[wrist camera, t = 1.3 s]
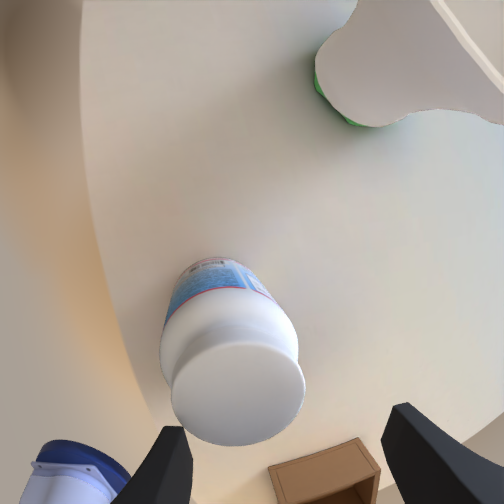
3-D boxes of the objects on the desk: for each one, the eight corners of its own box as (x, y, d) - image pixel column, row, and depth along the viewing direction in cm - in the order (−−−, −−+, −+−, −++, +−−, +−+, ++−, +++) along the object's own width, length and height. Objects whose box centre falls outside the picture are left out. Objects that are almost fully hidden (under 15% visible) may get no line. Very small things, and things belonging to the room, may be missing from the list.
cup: (343, 4, 18) (439, -95, 4) (433, 99, 21) (564, 60, 7) (251, 73, 18) (329, -80, 5) (364, 185, 21) (540, 180, 7)
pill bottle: (165, 333, 20) (142, 449, 9) (181, 247, 20) (159, 301, 9) (251, 349, 21) (295, 462, 10) (272, 266, 21) (348, 333, 10)
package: (280, 509, 25) (291, 541, 21) (267, 466, 24) (279, 505, 19) (356, 484, 27) (373, 512, 22) (358, 437, 25) (381, 468, 20)
